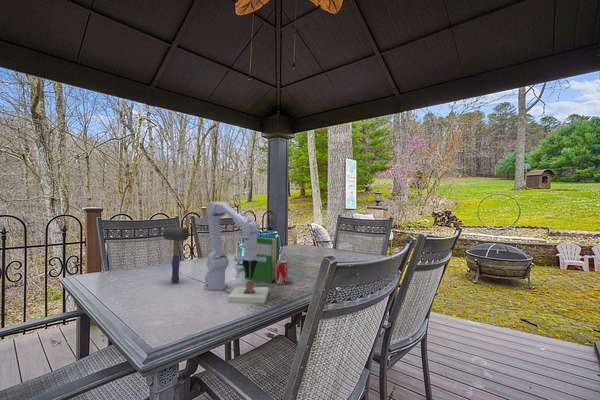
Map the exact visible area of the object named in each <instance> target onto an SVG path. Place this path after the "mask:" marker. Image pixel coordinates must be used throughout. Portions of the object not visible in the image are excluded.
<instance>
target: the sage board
mask: <svg viewBox="0 0 600 400" xmlns="http://www.w3.org/2000/svg"><path fill="white" fill-rule="evenodd" d="M269 290H270V288H269V287H265V286H264V287H262V286H261V287H260V286H259V287H257V286H254V294H246V286H235V288H234V289H233V290H232V292H231V293H230V294H229V295H228V300H227V302H228V303H229V304H230V303H232V304H233V303H234V304H235V303H237V304H241V303H243V304H265V303H266V301H267V297H268V295H269V293H270V291H269Z"/></svg>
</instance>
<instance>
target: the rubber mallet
mask: <svg viewBox="0 0 600 400" xmlns="http://www.w3.org/2000/svg"><path fill="white" fill-rule="evenodd" d="M162 232H163V233H162V236H163V238H164V240H168V241H173V248H172V249H173V250H172V259H171V269H172V272H171V282H172V283H173V284H177V283H179V281H180V272H179V271H180V255H179V242H183V241H184V242H185V241H187V240H188V239H189V236H190V231H189V229H188V228H187V227H183V226H182V227H181V226H167V227H165V228H164V230H163V231H162Z"/></svg>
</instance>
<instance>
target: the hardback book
mask: <svg viewBox="0 0 600 400" xmlns="http://www.w3.org/2000/svg"><path fill="white" fill-rule="evenodd" d="M279 238H280V237H272V236H263V235H261V236H260V235H257V253H256V256H259V257H266V262H257V265H256V267H255V270H254V273H253V277H252V278H251V262H252V261H250V262H249V277H248V278H247V276H246V272H245V271H244V280H247V281H253V282H259V283H260V282H261V283H265V284H270V285H271V284H272V283H273V281H274V282H275V265H276V263H277V261H278V260H279V248H280V246H279V244H280V243H279V241H280V239H279Z"/></svg>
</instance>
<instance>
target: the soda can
mask: <svg viewBox="0 0 600 400" xmlns="http://www.w3.org/2000/svg"><path fill="white" fill-rule="evenodd" d="M288 282H289V264H288V261H287V260H286V259H280V260H279V259H278V261H277V263H276V265H275V280H274V283H276V284H277V285H286V284H287V283H288Z"/></svg>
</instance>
